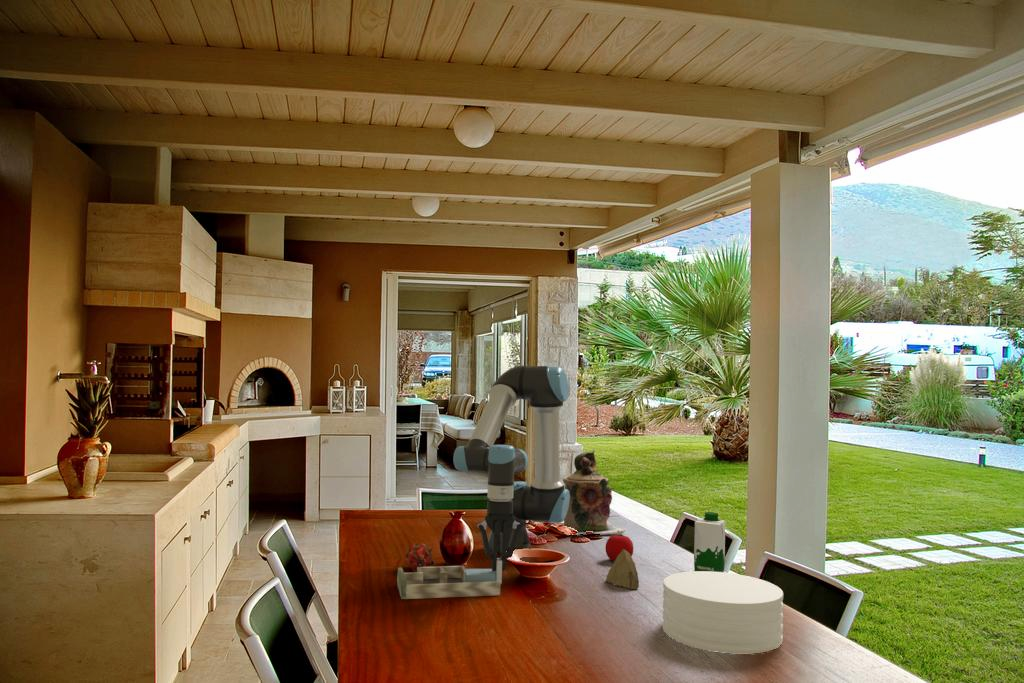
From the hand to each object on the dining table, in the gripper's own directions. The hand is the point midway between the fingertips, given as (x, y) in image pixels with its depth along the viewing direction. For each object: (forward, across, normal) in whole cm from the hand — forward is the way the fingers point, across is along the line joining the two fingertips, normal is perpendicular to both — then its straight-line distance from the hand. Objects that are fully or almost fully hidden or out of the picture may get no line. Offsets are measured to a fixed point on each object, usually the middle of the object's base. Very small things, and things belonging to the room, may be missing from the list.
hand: (497, 582), depth 217 cm
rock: (+2, +37, -2) cm, 37 cm away
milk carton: (+2, +66, 0) cm, 66 cm away
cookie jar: (+2, +53, +75) cm, 92 cm away
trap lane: (+2, -14, +3) cm, 15 cm away
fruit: (+2, +47, +26) cm, 54 cm away
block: (+2, -5, 0) cm, 6 cm away
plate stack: (+2, +46, -45) cm, 64 cm away
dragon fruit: (+2, -20, +23) cm, 30 cm away
